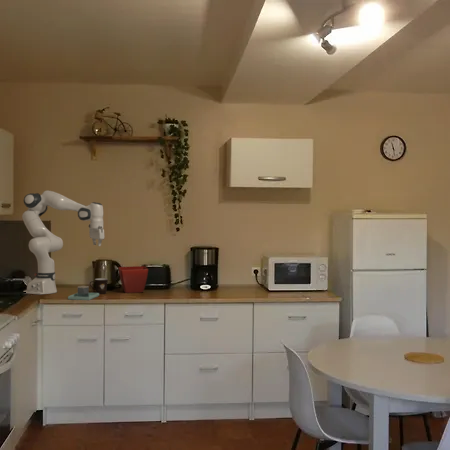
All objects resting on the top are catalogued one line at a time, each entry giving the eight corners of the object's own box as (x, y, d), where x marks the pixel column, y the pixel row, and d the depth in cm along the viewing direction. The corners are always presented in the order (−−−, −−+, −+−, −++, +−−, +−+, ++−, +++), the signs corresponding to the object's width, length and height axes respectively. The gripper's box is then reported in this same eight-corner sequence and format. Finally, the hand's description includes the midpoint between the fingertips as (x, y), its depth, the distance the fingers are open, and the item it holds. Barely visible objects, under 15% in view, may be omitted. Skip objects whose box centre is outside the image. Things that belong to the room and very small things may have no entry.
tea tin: (77, 297, 372) (77, 286, 372) (82, 296, 377) (82, 285, 377) (83, 297, 370) (83, 287, 370) (88, 296, 375) (88, 286, 374)
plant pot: (118, 289, 407) (118, 266, 406) (144, 288, 413) (144, 265, 412) (120, 294, 389) (120, 270, 388) (148, 293, 394) (148, 269, 393)
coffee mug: (109, 292, 395) (109, 278, 395) (105, 294, 386) (105, 280, 386) (93, 292, 396) (93, 277, 396) (89, 294, 388) (89, 279, 387)
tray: (68, 299, 367) (67, 296, 367) (78, 295, 384) (78, 292, 384) (89, 300, 365) (89, 297, 365) (99, 295, 381) (99, 293, 381)
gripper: (106, 226, 385) (106, 246, 386) (96, 224, 402) (96, 244, 403) (97, 226, 382) (97, 246, 383) (87, 225, 399) (87, 244, 400)
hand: (97, 245), depth 393 cm, fingers open, 8 cm apart
